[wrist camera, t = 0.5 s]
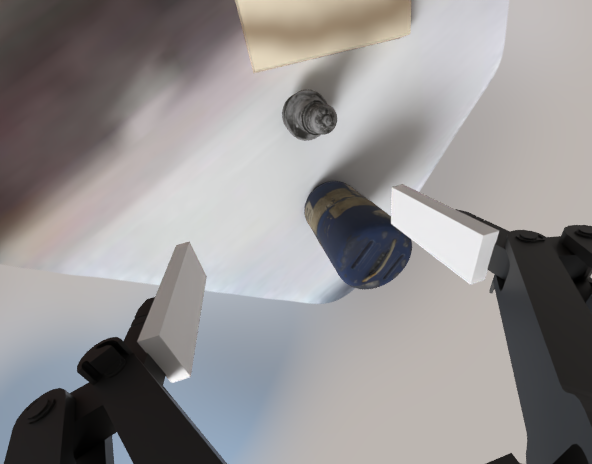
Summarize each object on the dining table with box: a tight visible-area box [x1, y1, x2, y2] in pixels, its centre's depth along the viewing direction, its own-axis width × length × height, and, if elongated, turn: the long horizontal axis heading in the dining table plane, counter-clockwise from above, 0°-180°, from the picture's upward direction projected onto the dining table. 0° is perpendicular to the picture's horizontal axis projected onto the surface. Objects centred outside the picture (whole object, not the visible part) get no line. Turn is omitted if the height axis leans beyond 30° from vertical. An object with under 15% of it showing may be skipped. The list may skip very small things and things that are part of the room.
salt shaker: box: [282, 90, 337, 141], centre depth 28 cm, size 6×6×12 cm
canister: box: [305, 181, 412, 289], centre depth 34 cm, size 10×10×18 cm
